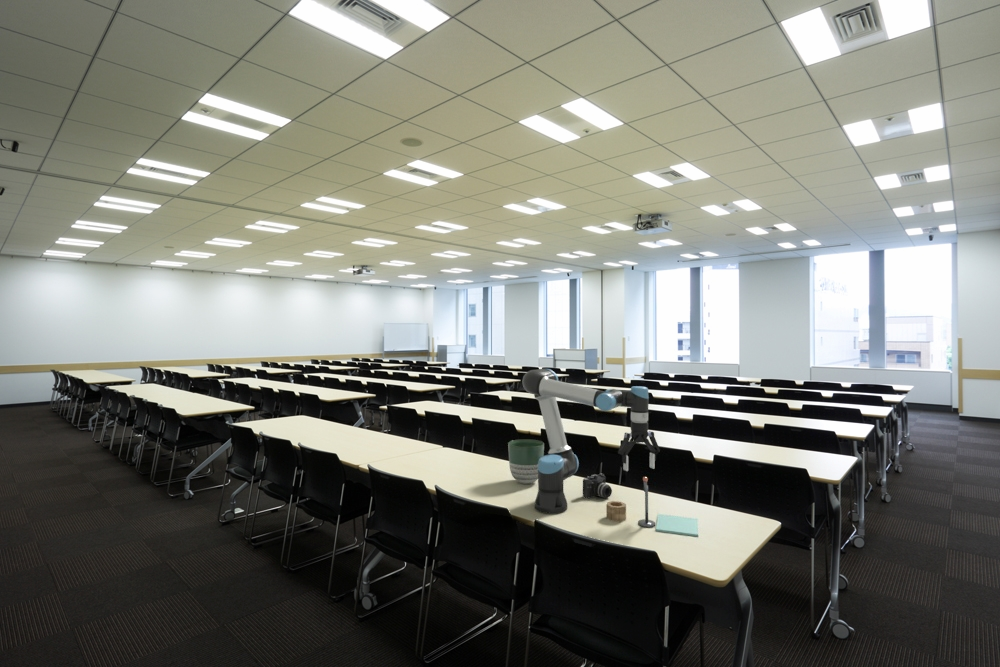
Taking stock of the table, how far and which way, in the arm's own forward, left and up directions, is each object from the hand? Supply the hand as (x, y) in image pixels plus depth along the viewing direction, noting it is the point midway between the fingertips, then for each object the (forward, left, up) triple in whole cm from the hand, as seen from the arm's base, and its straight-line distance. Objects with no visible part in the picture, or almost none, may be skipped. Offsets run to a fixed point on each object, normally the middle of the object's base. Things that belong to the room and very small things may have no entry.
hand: (639, 469), depth 218 cm
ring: (-9, -8, -20) cm, 23 cm away
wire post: (+4, -12, -20) cm, 24 cm away
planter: (-62, +28, -20) cm, 71 cm away
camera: (-21, +18, -21) cm, 35 cm away
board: (+16, -8, -20) cm, 27 cm away
